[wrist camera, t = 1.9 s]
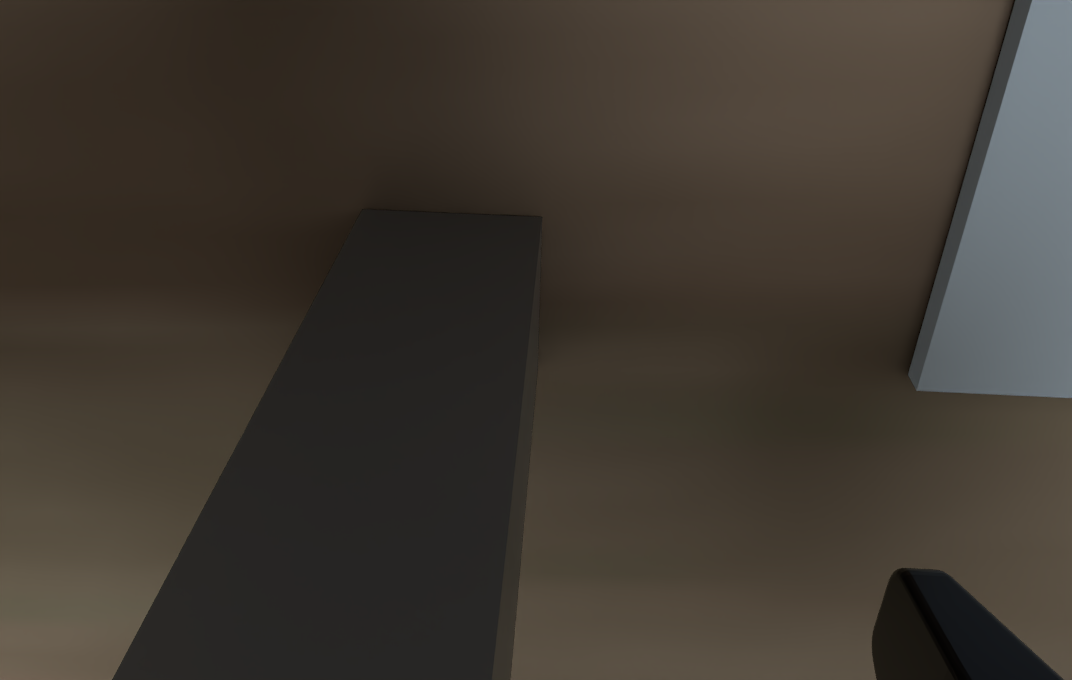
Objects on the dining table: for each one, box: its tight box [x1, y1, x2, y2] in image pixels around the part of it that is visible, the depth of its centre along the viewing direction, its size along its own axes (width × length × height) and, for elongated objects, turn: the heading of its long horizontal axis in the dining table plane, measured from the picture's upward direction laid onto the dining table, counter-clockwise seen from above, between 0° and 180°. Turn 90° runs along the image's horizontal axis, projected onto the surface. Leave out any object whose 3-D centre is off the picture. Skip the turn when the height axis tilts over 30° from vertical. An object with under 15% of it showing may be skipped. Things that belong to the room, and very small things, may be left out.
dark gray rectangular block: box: [112, 209, 542, 680], centre depth 8 cm, size 2×2×10 cm
